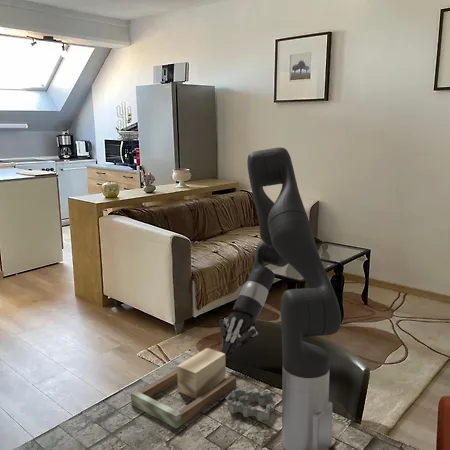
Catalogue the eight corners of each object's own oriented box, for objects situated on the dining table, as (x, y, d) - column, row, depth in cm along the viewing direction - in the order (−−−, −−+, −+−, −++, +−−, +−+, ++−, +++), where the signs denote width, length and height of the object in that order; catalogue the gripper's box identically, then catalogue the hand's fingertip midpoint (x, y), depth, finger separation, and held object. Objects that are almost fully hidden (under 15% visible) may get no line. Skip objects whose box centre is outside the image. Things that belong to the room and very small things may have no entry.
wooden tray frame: (236, 386, 116) (236, 375, 116) (176, 428, 100) (176, 416, 99) (192, 368, 126) (192, 358, 125) (131, 404, 109) (130, 393, 109)
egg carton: (278, 408, 107) (278, 392, 107) (264, 425, 101) (265, 409, 100) (237, 395, 113) (237, 380, 112) (222, 412, 106) (222, 395, 105)
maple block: (225, 378, 121) (225, 353, 119) (196, 399, 111) (195, 373, 110) (207, 371, 124) (207, 347, 123) (178, 391, 115) (176, 366, 113)
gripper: (226, 289, 132) (199, 344, 125) (265, 299, 124) (238, 358, 117) (238, 301, 138) (212, 355, 131) (275, 311, 129) (250, 369, 122)
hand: (224, 356), depth 124 cm, fingers closed
